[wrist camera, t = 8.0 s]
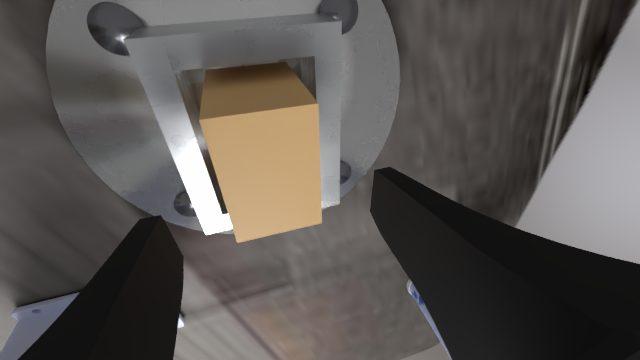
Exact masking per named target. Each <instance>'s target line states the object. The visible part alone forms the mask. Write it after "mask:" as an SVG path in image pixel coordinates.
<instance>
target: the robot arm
mask: <svg viewBox="0 0 640 360" xmlns="http://www.w3.org/2000/svg"><path fill="white" fill-rule="evenodd" d="M370 212H371V214H372V216H373V219H374V221H375V223H376V225H377V227H378V229H379V231H380V233H381V235H382V237H383V238H384V240H385V241H386V243H387V245H388V246H389V248H390V249H391V251H392V252H393V254H394V255H395V257H396V258H397V260H398V262H399V263H400V265H401V266H402V268H403V269H404V271H405V272H406V274H407V275H408V277H409V278H410V280H411V281H412V283H413V285H414V286H415V288H416V290H417V291H418V293H419V295H420V296H421V298H422V300H423V302H424V304H425V306H426V308H427V310H428V312H429V314H430V316H431V317H432V319H433V321H434V323H435V325H436V327H437V329H438V331H439V333H440V336H441V338H442V340H443V342H444V344H445V346H446V348H447V350H448V352H449V354H450V356H451V359H452V360H640V264H636V263H633V262H628V261H624V260H619V259H615V258H611V257H607V256H603V255H600V254H596V253H593V252H589V251H586V250H582V249H578V248H575V247H571V246H568V245H565V244H561V243H558V242H555V241H551V240H549V239H546V238H543V237H540V236H537V235H534V234H531V233H528V232H525V231H522V230H520V229H517V228H514V227H512V226H509V225H507V224H504V223H502V222H499V221H497V220H494V219H492V218H489V217H487V216H485V215H482V214H480V213H478V212H476V211H474V210H471V209H469V208H467V207H465V206H463V205H461V204H459V203H457V202H455V201H453V200H451V199H449V198H447V197H445V196H443V195H441V194H439V193H437V192H435V191H434V190H432V189H430V188H428V187H426V186H424V185H423V184H421V183H419V182H417V181H415V180H413V179H412V178H410V177H408V176H406V175H404V174H403V173H401V172H399V171H397V170H395V169H393V168H391V167H387V168H382V169H378V170H374V179H373V188H372V198H371V208H370ZM182 292H183V255H182V253H181V251H180V249H179V248H178V246H177V244H176V242H175V240H174V238H173V236H172V234H171V233H170V231H169V229H168V227H167V225H166V223H165V221H164V219H163V217H162V216H161V215H158V216H153V217H149V218H144V219H140V220H139V221H138V222H137V223H136V224H135V226H134V227H133V228H132V229H131V231H130V232H129V233H128V234H127V236H126V237H125V238H124V239H123V241H122V242H121V243H120V244H119V246H118V247H117V248H116V250H115V251H114V252H113V253H112V255H111V256H110V257H109V258H108V260H107V261H106V262H105V263H104V264H103V266H102V267H101V268H100V269H99V271H98V272H97V273H96V274H95V276H94V277H93V278H92V279H91V280H90V282H89V283H88V284H87V285H86V286H85V287H84V288H83V290H82V291H81V292H78V293H74V294H70V295H66V296H62V297H58V298H54V299H50V300H46V301H42V302H38V303H34V304H30V305H26V306H22V307H18V308H16V309H14V311H13V312H12V314H11V316H12V317H13V318H15V319H16V320H17V321H18V323H17V325H16V327H15V328H14V330H13V332H12V334H11V335H10V337H9V339H8V341H7V342H6V344H5V346H4V348H3V349H2V351H1V353H0V360H173V356H174V349H175V342H176V335H177V328H180V327H183V326H184V324H185V320H184V319H183V317H182V316H181V314H180V307H181V299H182Z"/></svg>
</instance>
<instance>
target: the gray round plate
mask: <svg viewBox="0 0 640 360" xmlns="http://www.w3.org/2000/svg"><path fill="white" fill-rule="evenodd" d="M277 62H287V64H288V65H289V66H290V67H291V69H292V70H293V71H294V73H295V74H296V75H297V76H298V78H299V79H300V80H301V82H302V83H303V84H304V85H305V87H306V88H307V89H308V91H309V92H310V93H311V94H312V96H313V97H314V98H315V100H316V101H317V102H318V105H319V140H320V174H321V208H322V211H323V210H324V209H326V208H328V207H329V206H334V205H338V204H340V198H342V197H343V196H344V195H345V194H346V193H348V192H349V191H350V190H351V189H352V188H353V187H354V186H355V185H356V184H357V183H358V182H359V181H360V180H361V178H362V177H363V176H364V175H365V174H366V173H367V171H368V170H369V169H370V167H371V166H372V164H373V163H374V162H375V160H376V158H377V157H378V155H379V153H380V151H381V150H382V148H383V146H384V144H385V142H386V139H387V137H388V135H389V133H390V130H391V127H392V123H393V120H394V117H395V113H396V108H397V103H398V98H399V86H400V67H399V55H398V49H397V43H396V38H395V35H394V31H393V28H392V25H391V21H390V18H389V16H388V13H387V11H386V9H385V7H384V4H383V2H382V0H55V3H54V6H53V9H52V12H51V15H50V18H49V25H48V33H47V41H46V65H47V78H48V82H49V87H50V91H51V96H52V100H53V104H54V106H55V109H56V111H57V114H58V116H59V119H60V122H61V124H62V127H63V128H64V130H65V132H66V134H67V135H68V137H69V139H70V141H71V142H72V144H73V146H74V148H75V149H76V150H77V152H78V153H79V154H80V156H81V157H82V158H83V160H84V161H85V162H86V164H87V165H88V166H89V167H90V169H91V170H92V171H93V172H94V173H95V174H96V175H97V176H98V177H99V178H100V179H101V180H102V181H103V182H104V183H105V184H106V185H108V186H109V187H110V188H111V189H112V190H114V191H115V192H116V193H117V194H119V195H120V196H121V197H122V198H124V199H126V200H127V201H129V202H130V203H132V204H133V205H135V206H136V207H138V208H139V209H141V210H143V211H145V212H147V213H149V214H151V215H153V216H158V215H161V216H162V217H163V219H164V220H165V221H168V222H170V223H173V224H175V225H179V226H183V227H186V228H190V229H194V230H199V231H204V232H205V235H208V234H212V233H223V234H234V231H233V227H232V224H231V221H230V218H229V215H228V211H227V208H226V205H225V202H224V199H223V195H222V192H221V189H220V186H219V182H218V179H217V176H216V173H215V170H214V166H213V163H212V160H211V157H210V154H209V150H208V147H207V144H206V141H205V138H204V134H203V131H202V128H201V125H200V121H199V116H200V108H201V100H202V91H203V83H204V75H205V70H209V69H218V68H228V67H238V66H248V65H257V64H267V63H277Z"/></svg>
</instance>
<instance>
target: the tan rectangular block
mask: <svg viewBox="0 0 640 360" xmlns="http://www.w3.org/2000/svg"><path fill="white" fill-rule="evenodd" d="M199 121H200V125H201V128H202V131H203V134H204V138H205V141H206V144H207V147H208V150H209V154H210V157H211V160H212V163H213V166H214V170H215V173H216V176H217V179H218V182H219V186H220V189H221V192H222V195H223V199H224V202H225V205H226V208H227V211H228V215H229V218H230V221H231V224H232V227H233V231H234V234H235V237H236V240H237V243H239V242H243V241H248V240H252V239H256V238H261V237H265V236H269V235H273V234H278V233H282V232H286V231H290V230H295V229H299V228H303V227H307V226H312V225H316V224H320V223H322V208H321V174H320V140H319V105H318V102H317V101H316V100H315V98H314V97H313V96H312V94H311V93H310V92H309V91H308V89H307V88H306V87H305V85H304V84H303V83H302V82H301V80H300V79H299V78H298V76H297V75H296V74H295V73H294V71H293V70H292V69H291V67H290V66H289V65H288V64H287V62H277V63H267V64H257V65H248V66H238V67H228V68H218V69H209V70H205V75H204V83H203V91H202V100H201V108H200V116H199Z"/></svg>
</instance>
